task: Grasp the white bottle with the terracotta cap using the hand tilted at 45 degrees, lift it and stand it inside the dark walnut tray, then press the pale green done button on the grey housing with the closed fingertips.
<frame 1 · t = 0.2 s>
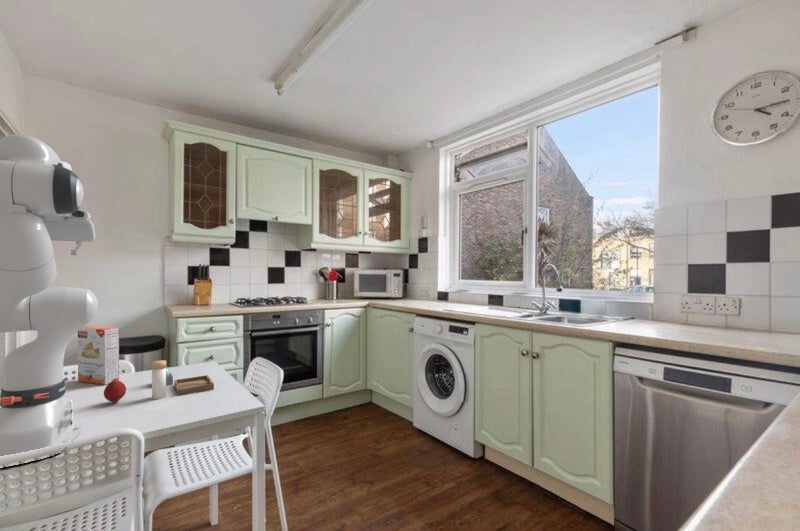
hand: (55, 254, 123), 48 cm above the table, tool pointing down, fingers open, 8 cm apart
white bottle: (159, 397, 130), on the table
onion: (115, 403, 125), on the table
button housing: (162, 384, 144), on the table
done button: (162, 374, 144), point 4 cm above the table, slide at 0.0 cm
cracker box: (98, 382, 147), on the table
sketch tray: (193, 387, 140), on the table
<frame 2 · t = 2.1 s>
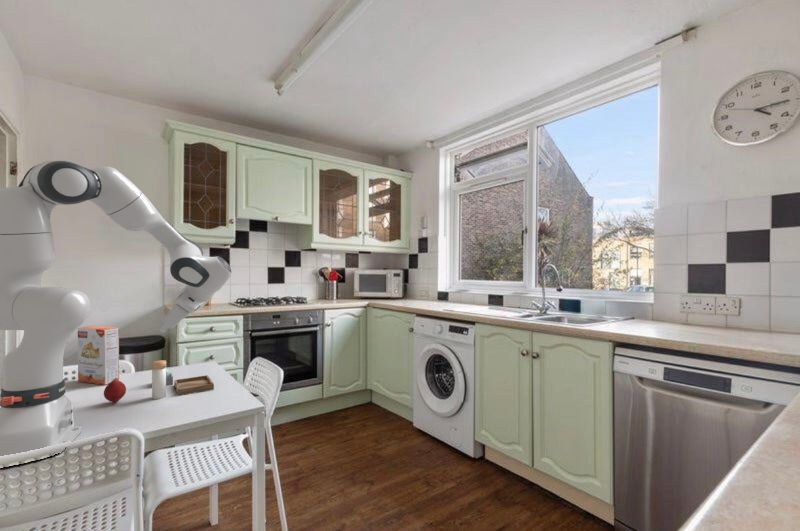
hand: (166, 325, 133), 24 cm above the table, tool tilted 45°, fingers open, 8 cm apart
nothing on the table moved.
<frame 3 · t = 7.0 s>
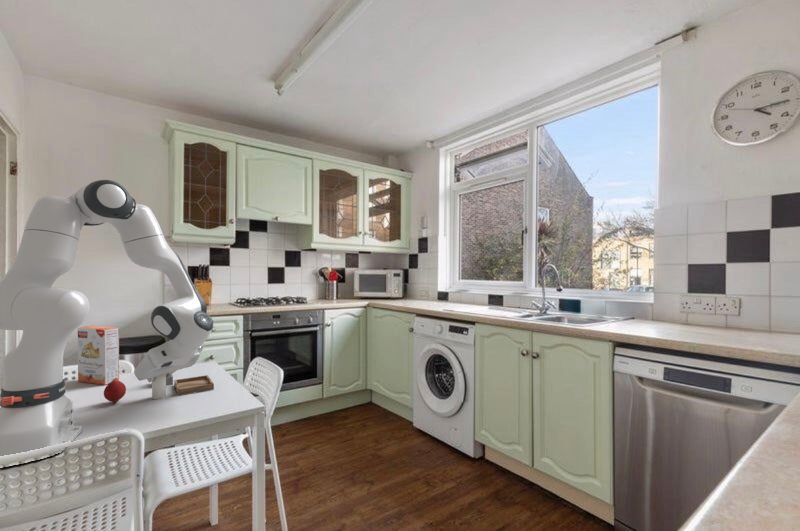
hand: (157, 378, 130), 6 cm above the table, tool tilted 45°, fingers closed on white bottle, 4 cm apart
white bottle: (159, 397, 130), on the table, touching gripper
everything else where it was.
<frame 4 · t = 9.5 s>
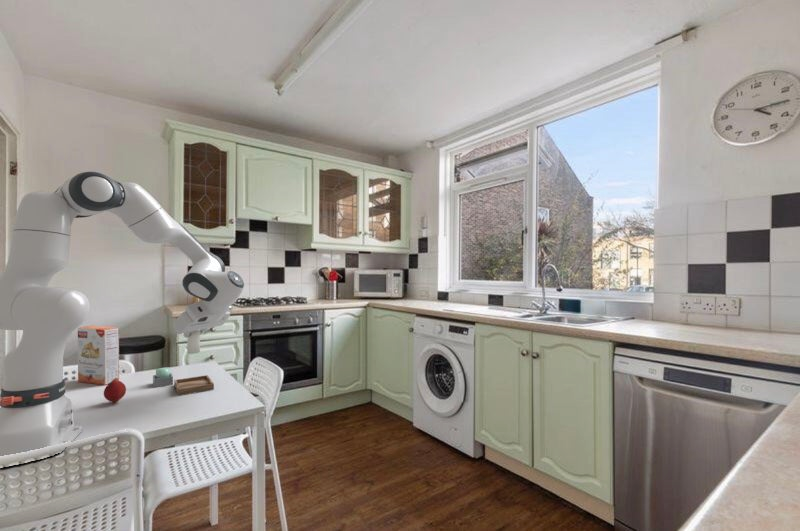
hand: (192, 334, 140), 19 cm above the table, tool tilted 45°, fingers closed on white bottle, 4 cm apart
white bottle: (193, 352, 140), point 13 cm above the table, touching gripper
everything else where it was.
when the fingers open (8 cm above the table, at t = 12.3 s): white bottle drops 1 cm, resting on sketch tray.
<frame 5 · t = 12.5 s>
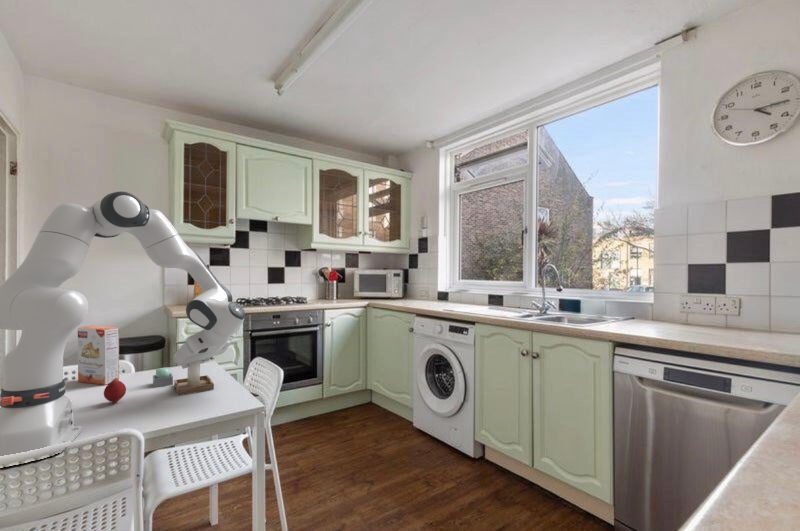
hand: (192, 364, 140), 8 cm above the table, tool tilted 45°, fingers open, 6 cm apart
white bottle: (193, 385, 140), point 1 cm above the table, touching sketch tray
everything else where it was.
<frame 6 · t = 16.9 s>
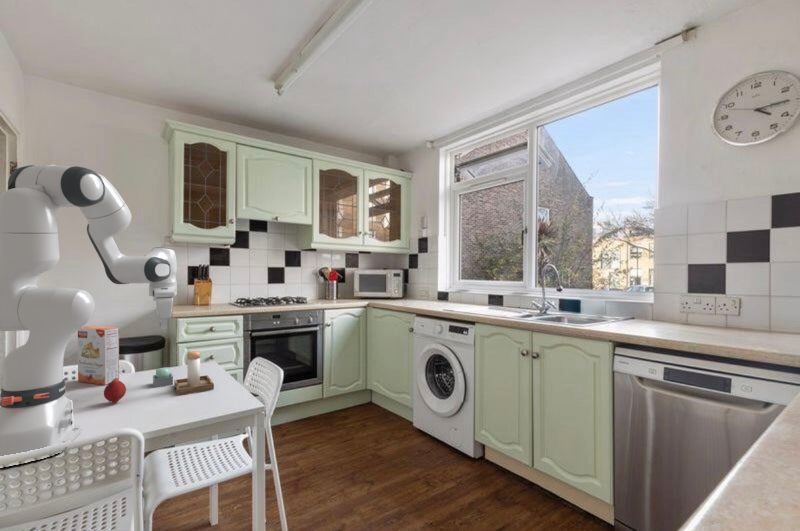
hand: (163, 328, 144), 21 cm above the table, tool pointing down, fingers open, 6 cm apart
nothing on the table moved.
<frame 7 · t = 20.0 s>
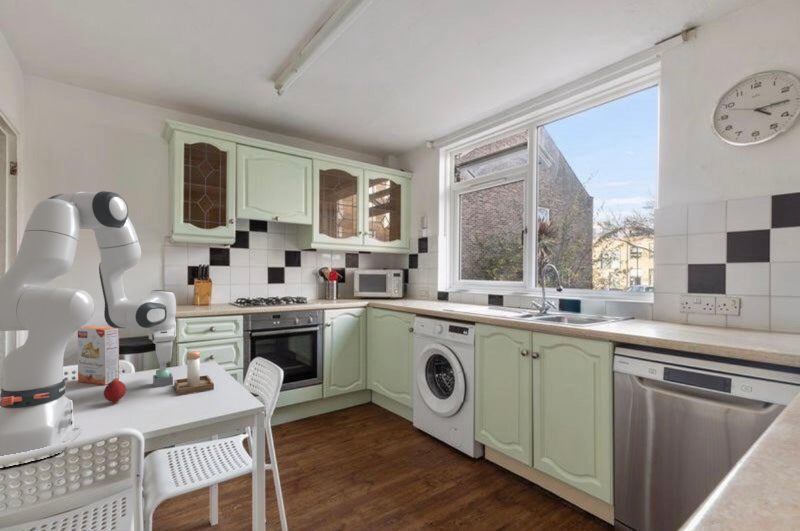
hand: (162, 369, 144), 5 cm above the table, tool pointing down, fingers closed, pressing on done button
done button: (162, 375, 144), point 3 cm above the table, slide at 0.4 cm, touching gripper
everything else where it was.
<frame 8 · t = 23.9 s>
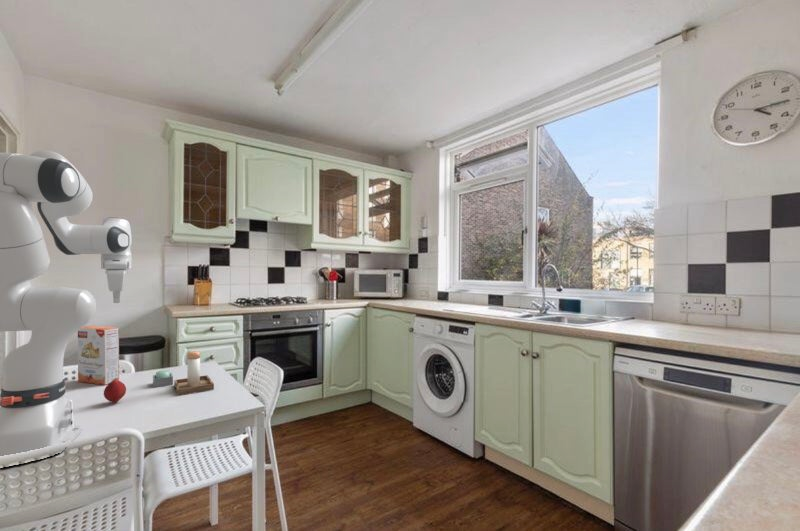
hand: (116, 302, 137), 31 cm above the table, tool pointing down, fingers closed
done button: (162, 377, 144), point 3 cm above the table, slide at 1.1 cm
everything else where it was.
at the end: white bottle inside the target area on the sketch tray (0.1 cm from its centre), point 0.8 cm above the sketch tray's base; done button slide at 1.1 cm; the gripper is holding nothing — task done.
